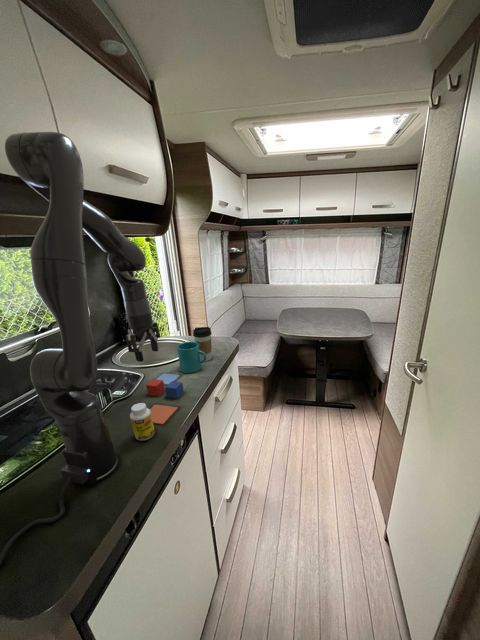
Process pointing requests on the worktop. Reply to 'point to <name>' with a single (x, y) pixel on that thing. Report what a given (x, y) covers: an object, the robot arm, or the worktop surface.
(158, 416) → the orange coaster
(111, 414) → the worktop surface
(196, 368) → the cup
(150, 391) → the red block
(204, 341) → the coffee cup
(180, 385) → the blue block
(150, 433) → the supplement bottle
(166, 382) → the blue coaster
